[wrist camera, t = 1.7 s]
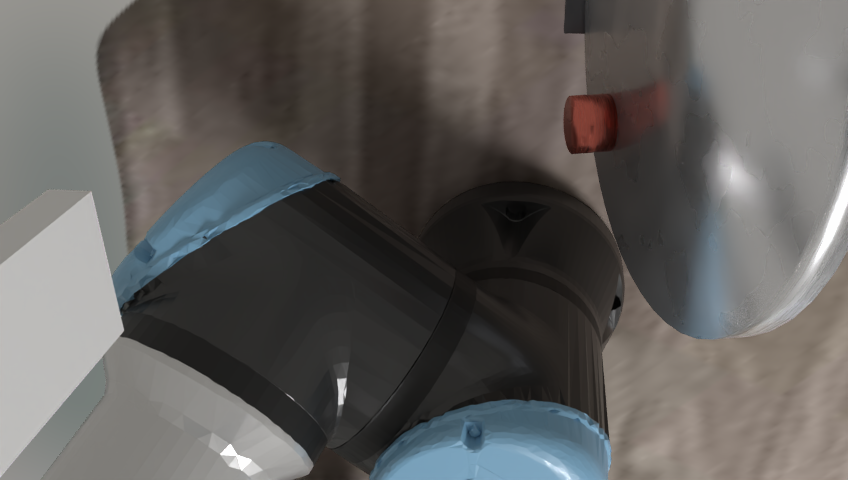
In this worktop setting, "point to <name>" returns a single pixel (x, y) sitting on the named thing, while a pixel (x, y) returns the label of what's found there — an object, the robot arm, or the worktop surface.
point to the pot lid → (720, 152)
